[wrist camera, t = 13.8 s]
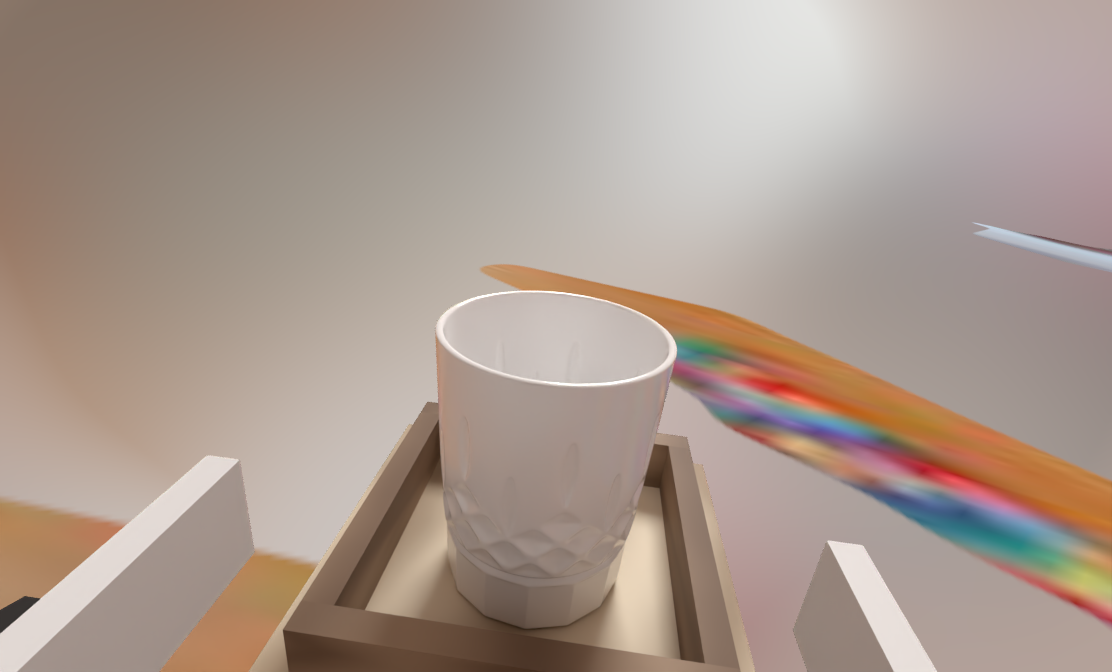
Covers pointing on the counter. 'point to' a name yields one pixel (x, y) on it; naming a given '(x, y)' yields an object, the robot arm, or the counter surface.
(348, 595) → the cup holder
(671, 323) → the counter surface
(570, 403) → the white cup
